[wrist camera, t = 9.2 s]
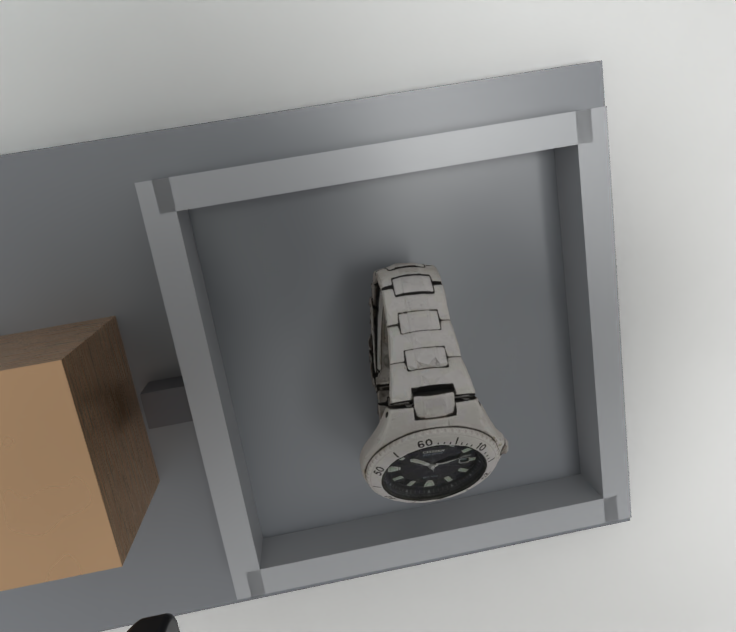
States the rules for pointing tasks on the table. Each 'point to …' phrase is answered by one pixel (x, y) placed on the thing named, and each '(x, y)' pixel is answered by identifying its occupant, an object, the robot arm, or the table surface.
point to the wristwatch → (422, 395)
